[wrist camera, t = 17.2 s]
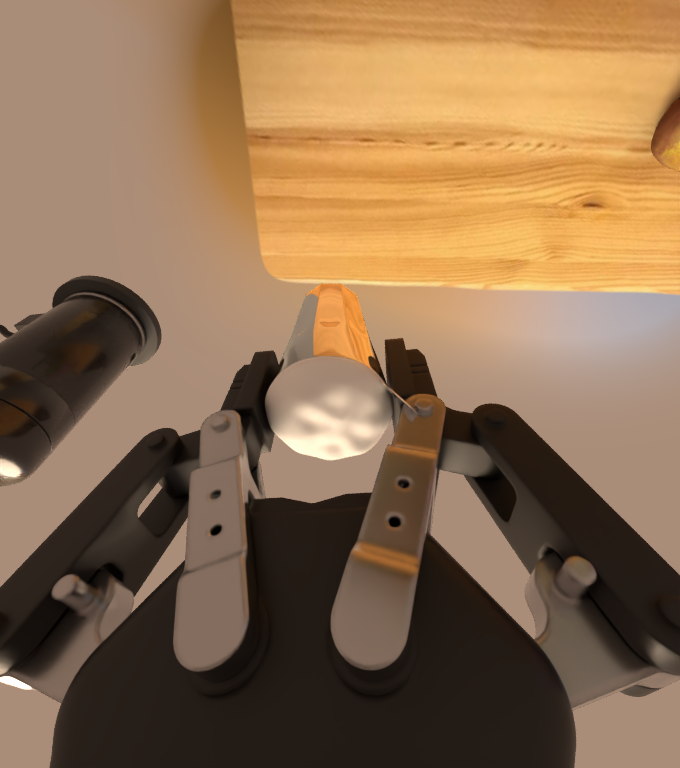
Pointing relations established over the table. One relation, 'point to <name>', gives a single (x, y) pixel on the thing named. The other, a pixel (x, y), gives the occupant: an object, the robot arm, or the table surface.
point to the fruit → (668, 138)
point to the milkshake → (330, 381)
